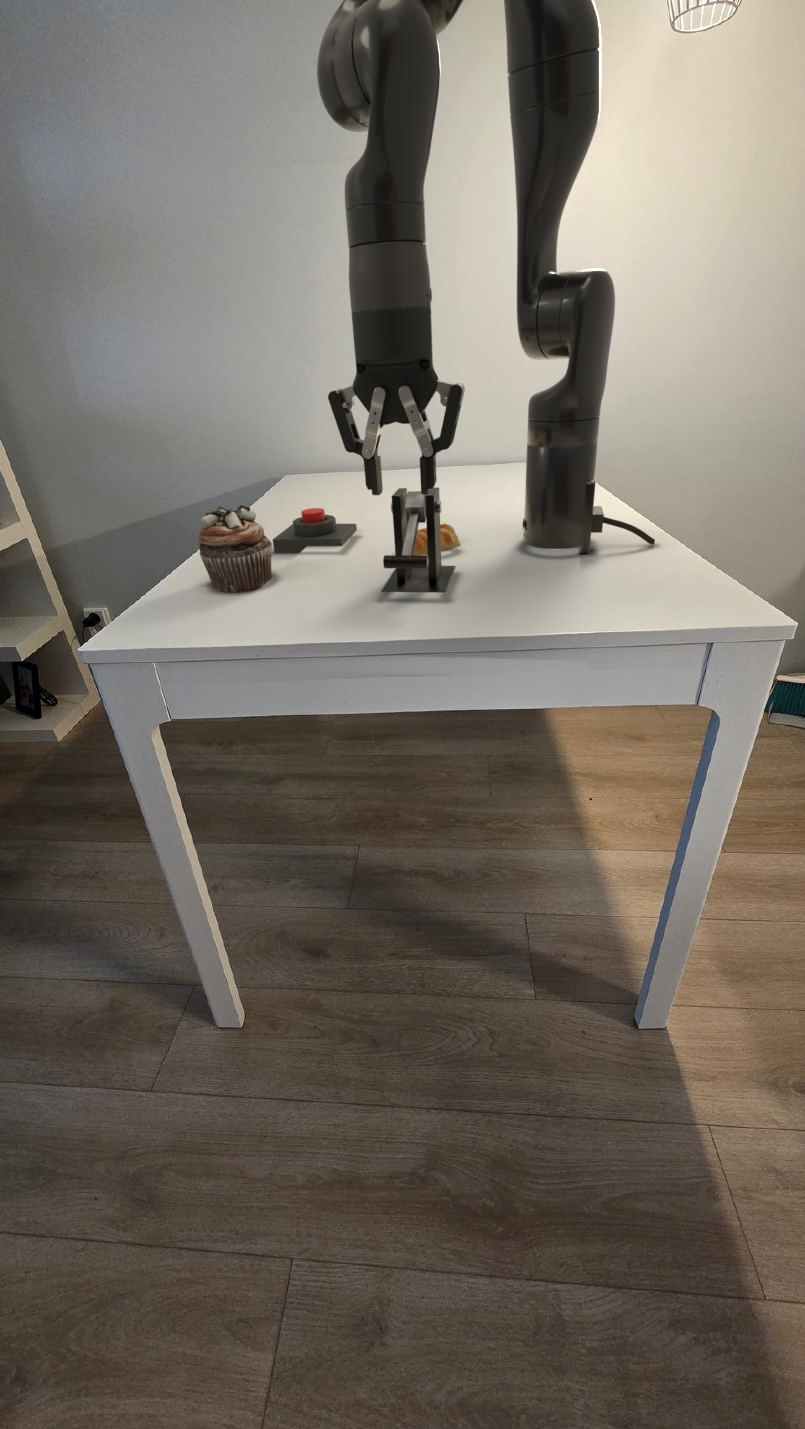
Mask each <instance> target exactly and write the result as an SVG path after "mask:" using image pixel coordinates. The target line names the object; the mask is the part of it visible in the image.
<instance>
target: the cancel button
mask: <svg viewBox="0 0 805 1429" xmlns="http://www.w3.org/2000/svg"><path fill="white" fill-rule="evenodd" d="M300 515H301V517H302V522H303V523H317V522H322V521H326V519H325V515H326V513H325V509H324V508H320V507H312V508H306V509H302V510H301V512H300Z"/></svg>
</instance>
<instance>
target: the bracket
mask: <svg viewBox="0 0 805 1429" xmlns="http://www.w3.org/2000/svg"><path fill="white" fill-rule="evenodd" d="M407 493H408V488H407V487H400V488H398V489H397V490H396V491H395V492H394V493H393V494H392V495H391V503H390V511H391V513H392V524H393V537H394V538H393V540H394V553H395V554H394V555H402V550H403V545H404V540H405V535H406V530H407V525H408V523H407V518H406V512H405V503H406V498H407ZM440 498H441V497H440V487H439V486H437V487H436V486H434V487H433V489H431V491H430V493H429V494H426V495H425V501H426V521H425V523H426V528H427V550H428V554H427V555H428V558H429V565H428V568H394V570H393V572H392V573H391V574H390V577H389V578H388V579H387V581H386V583H385V584H384V586H383V587H382V588H381V590H380V592H381V593H446V592H447V590H448V588H449V585H450V582H451V580H452V577H453V575H454V573H455V570H456V568H457V566H456V565H442V551H441V531H440V525H441V513H442V511H443V502H442V500H441V499H440Z"/></svg>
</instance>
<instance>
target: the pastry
mask: <svg viewBox="0 0 805 1429" xmlns="http://www.w3.org/2000/svg"><path fill="white" fill-rule="evenodd" d="M440 531H441V552H443V551H445V550H449V549H450V550H451V549H453V548H456V547H457V548H458V547H460V546H461V541H460V540H459V536H458V535H457V533H456V531H455V528H454V527H453V526H451V524H447V523H442V524H441V523H440ZM413 555H428V550H427V527H424V528H419V529H418V531H417V536H416V542H415V547H414V552H413Z"/></svg>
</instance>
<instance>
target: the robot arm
mask: <svg viewBox="0 0 805 1429" xmlns="http://www.w3.org/2000/svg"><path fill="white" fill-rule="evenodd" d="M464 1H465V0H342V2H341V3H340V4H339V6H338V8H337V9H336V10H335V12H334V14H333V15H332V17H331V19H330V20H329V22H328V23H327V26H326V28H325V31H324V33H323V35H322V38H321V41H320V45H319V49H318V54H317V61H316V62H317V63H316V79H317V86H318V91H319V96H320V98H321V102H322V104H323V106H324V108H325V111H326V113H327V114H328V115H329V117H330V118H331V119H332V121H333V122H334V123H335V124H337V125H338V126H339V127H341V128H342V129H344V130H346V131H349V132H354V133H366V132H367V136H366V144H365V147H364V148H365V149H364V151H363V153H362V155H361V156H360V158H359V159H358V160H357V161H356V162H355V163H354V164H353V165H352V166H351V168H350V169H349V171H348V172H347V174H346V176H345V181H344V207H345V208H344V209H345V219H346V231H347V232H346V233H347V246H348V249H349V250H348V262H349V263H348V289H349V299H350V300H349V301H350V310H351V311H350V312H351V322H352V336H353V348H354V358H355V370H356V372H355V377H354V380H353V382H352V385H350V386H348V387H344V388H338V389H335V390H331V391H329V393H328V395H327V400H328V402H329V405H330V409H331V411H332V415H333V417H334V420H335V423H336V426H337V429H338V432H339V435H340V438H341V441H342V445H343V447H344V449H345V452H347V453H353V454H356V455H358V456H360V457H361V458H362V460H363V469H364V479H365V481H364V482H365V486H366V489H367V490H368V491H371V495H372V496H380V495H381V494H383V490H384V489H383V488H384V487H383V475H382V474H383V473H382V462H381V461H382V460H381V455H379V454H378V453H379V449H380V445H381V440H382V436H383V433H384V431H385V428H386V426H388V425H391V424H394V423H398V424H401V425H408V424H409V425H410V427H411V430H412V433H413V435H414V437H415V438H416V441H417V444H418V447H419V450H420V452H421V456H420V457H419V475H420V491H421V494H422V495H426V494H429V493H430V491H431V489H433V488H434V487H436V485H437V484H436V483H437V454H438V453H441V452H442V451H445V450H448V449H449V448H450V447H451V446H452V445H453V443H454V440H455V435H456V431H457V427H458V422H459V418H460V412H461V408H462V404H463V400H464V396H465V390H466V389H465V386H464V384H463V383H461V382H456V383H454V382H453V383H452V382H449V381H444V380H441V379H439V377H438V375H437V373H436V370H435V368H434V363H433V362H434V360H433V330H432V329H433V328H432V299H433V293H432V292H433V291H432V288H431V274H430V273H431V272H430V265H429V258H428V250H427V234H426V233H427V232H426V231H427V230H426V207H425V206H426V205H425V204H426V202H425V181H426V177H427V171H428V165H429V160H430V155H431V149H432V142H433V136H434V135H433V134H434V129H435V123H436V116H437V108H438V103H439V94H440V86H441V85H440V83H441V55H440V46H439V40H438V36H439V35H440V34H441V33H442V32H444V31H445V29H446V28H447V27H448V26H449V25H450V24H451V23H452V21H453V20H454V18H455V17H456V16H457V14H458V12H459V11H460V9H461V7H462V5H463V3H464ZM503 6H504V7H503V8H504V21H505V36H506V63H507V64H506V65H507V66H506V67H507V70H506V71H507V85H508V86H507V87H508V102H509V115H510V116H509V120H510V130H511V139H512V151H513V164H514V165H513V166H514V167H513V168H514V181H515V184H514V185H515V203H516V323H517V332H518V338H519V342H520V346H521V348H522V351H523V353H524V354H525V355H526V356H527V357H528V358H530V359H532V360H537V361H543V360H546V361H547V360H548V361H550V360H568V362H567V368H566V371H565V374H564V376H563V377H562V378H561V379H560V380H558V381H557V382H556V383H554V384H553V385H552V386H550V387H548V388H546V389H543V390H541V391H538V392H536V393H534V394H533V395H532V396H530V398H529V401H528V405H527V434H526V435H527V437H526V459H525V460H526V462H525V464H526V465H525V488H524V490H525V491H524V516H523V519H522V520H523V521H522V531H523V539H522V543H523V544H524V545H525V546H528V547H531V548H534V549H540V550H550V551H558V550H559V551H561V550H562V551H563V550H573V549H577V548H578V554H589V553H590V552H591V551H590V550H591V537H592V534H595V533H597V534H602V533H603V528H604V524H606V525H609V526H613V527H616V528H620V529H623V530H626V531H629V532H630V533H633V534H634V535H636V536H638V537H639V538H641V539H642V540H643V541H645V542H646V543H647V544H650V545H652V546H653V545H655V543H656V539H655V538H654V537H652V536H650V535H649V534H648V533H646V532H645V531H643V529H640V528H638V527H637V526H634V525H633V524H630V523H627V522H624V521H621V520H617V519H614V518H610V517H607V516H605V514H604V510H603V507H602V505H601V506H600V505H595V493H596V480H595V475H596V465H597V455H598V453H597V452H598V444H599V442H598V441H599V430H600V418H601V417H600V416H601V408H602V402H603V399H604V398H603V397H604V394H605V389H606V383H607V376H608V375H607V373H608V365H609V357H610V350H611V344H612V338H613V332H614V331H613V330H614V321H615V314H616V290H615V285H614V281H613V279H612V276H611V274H610V273H609V272H608V271H607V270H606V269H604V268H601V267H595V268H594V267H593V268H584V269H576V270H567V271H559V272H558V269H557V268H558V267H557V265H558V264H557V261H558V260H557V257H558V256H557V255H558V253H557V252H558V240H559V231H560V226H561V221H562V218H563V213H564V210H565V208H566V205H567V201H568V199H569V196H570V194H571V191H572V189H573V186H574V184H575V182H576V179H577V177H578V175H579V173H580V171H581V168H582V166H583V163H584V161H585V159H586V156H587V154H588V151H589V149H590V146H591V144H592V141H593V138H594V135H595V133H596V130H597V126H598V122H599V119H600V112H601V95H602V94H601V91H602V90H601V89H602V50H601V49H602V35H601V33H602V32H601V24H600V19H599V14H598V11H597V7H596V4H595V1H594V0H503ZM436 392H437V393H438V395H439V397H440V400H439V401H440V404H441V406H443V407H445V411H444V415H443V420H442V424H441V429H440V434H439V436H437V437H436V438H435V437H434V434H433V432H432V428H431V424H430V423H431V422H430V420H429V417H428V415H427V412H426V409H427V407H428V405H429V404H430V402H431V400H432V398H433V397H434V395H435V393H436ZM355 397H357V399H358V400H359V402H360V403H361V404H362V406H363V407H364V409H365V410H366V411H367V412H368V416H367V422H366V426H365V431H364V434H365V435H364V439H361V435H360V434H359V431H358V427H357V424H356V421H355V418H354V415H353V411H352V410H353V409H354V408H355V406H356V405H355ZM594 505H595V506H594Z"/></svg>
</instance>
